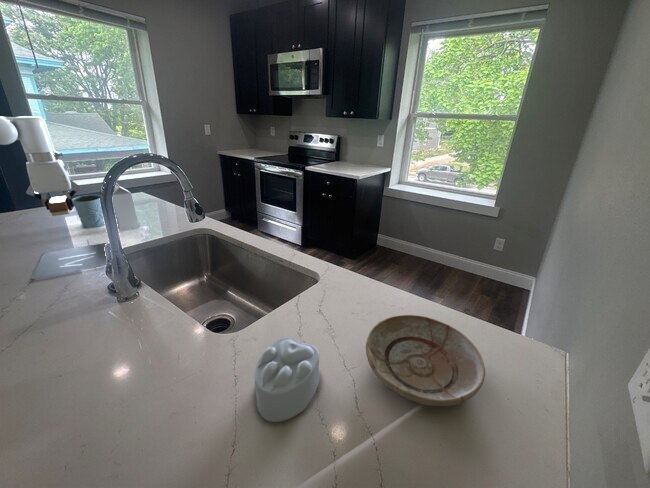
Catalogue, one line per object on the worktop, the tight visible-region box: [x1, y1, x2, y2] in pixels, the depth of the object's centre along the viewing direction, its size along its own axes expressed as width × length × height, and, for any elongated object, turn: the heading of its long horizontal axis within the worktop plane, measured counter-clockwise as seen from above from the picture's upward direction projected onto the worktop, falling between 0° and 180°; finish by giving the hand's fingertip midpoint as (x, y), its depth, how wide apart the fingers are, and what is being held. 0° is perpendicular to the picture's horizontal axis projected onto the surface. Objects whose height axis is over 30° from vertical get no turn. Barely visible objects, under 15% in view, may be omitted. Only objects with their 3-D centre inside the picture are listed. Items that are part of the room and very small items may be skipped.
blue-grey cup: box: [72, 194, 106, 229], centre depth 126 cm, size 10×10×12 cm
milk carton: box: [113, 182, 140, 231], centre depth 124 cm, size 7×7×19 cm
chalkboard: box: [30, 242, 107, 281], centre depth 100 cm, size 20×20×1 cm
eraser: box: [47, 195, 72, 217], centre depth 104 cm, size 8×4×4 cm, turn 32°
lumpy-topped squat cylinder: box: [254, 336, 320, 423], centre depth 55 cm, size 10×13×9 cm
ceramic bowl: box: [365, 314, 486, 407], centre depth 62 cm, size 23×24×5 cm
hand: (61, 209), depth 105 cm, fingers closed on eraser, 4 cm apart
